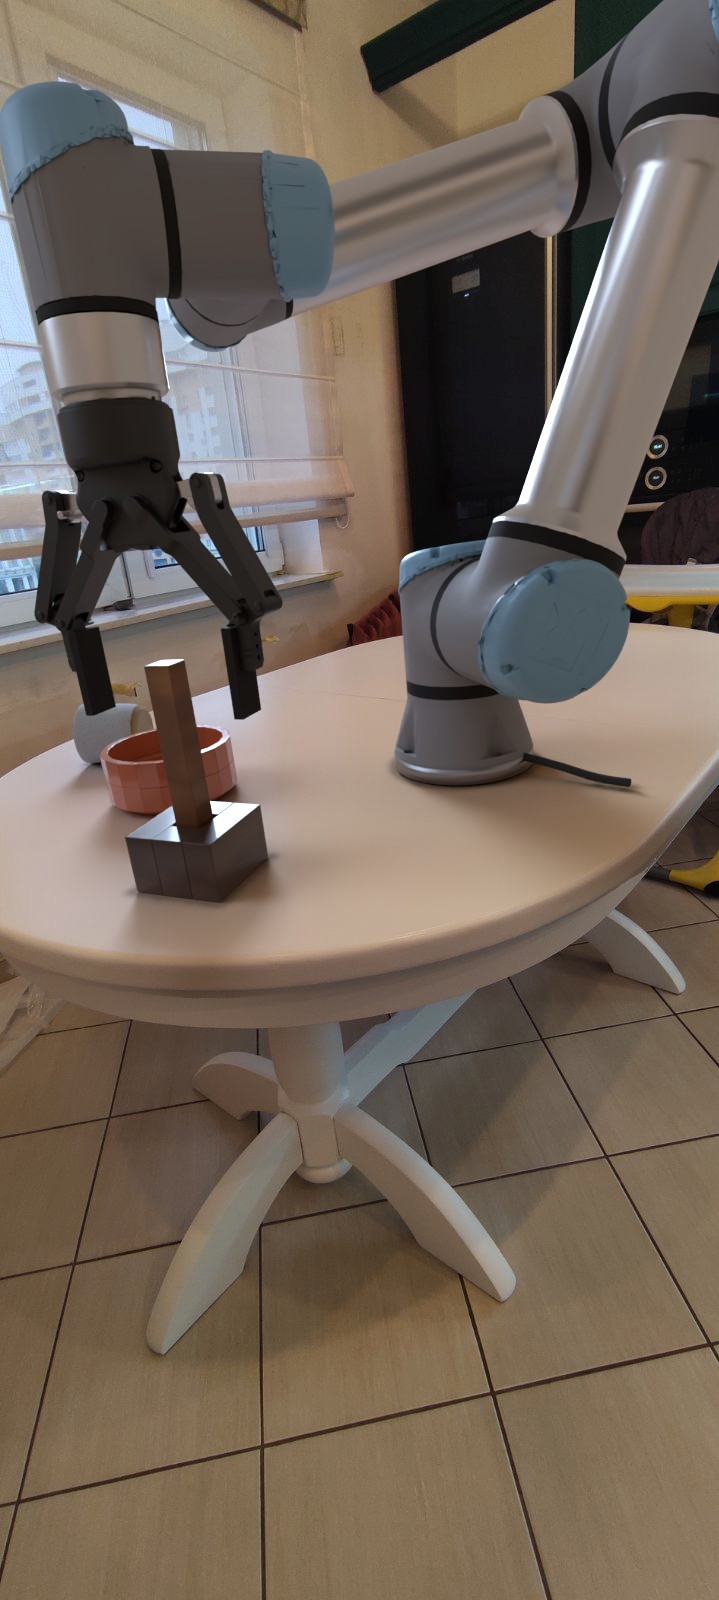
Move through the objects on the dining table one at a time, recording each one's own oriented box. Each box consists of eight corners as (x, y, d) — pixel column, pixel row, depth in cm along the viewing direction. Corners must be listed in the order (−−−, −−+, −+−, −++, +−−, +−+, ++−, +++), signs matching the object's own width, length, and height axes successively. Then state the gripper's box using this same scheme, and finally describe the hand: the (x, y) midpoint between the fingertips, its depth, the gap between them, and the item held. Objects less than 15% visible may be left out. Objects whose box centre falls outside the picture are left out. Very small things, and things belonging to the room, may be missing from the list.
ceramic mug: (142, 766, 90) (130, 706, 87) (79, 771, 91) (65, 711, 88) (168, 742, 100) (157, 687, 97) (110, 746, 101) (98, 692, 98)
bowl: (259, 775, 83) (252, 725, 81) (193, 823, 72) (182, 766, 70) (161, 770, 88) (152, 723, 86) (85, 814, 77) (72, 761, 75)
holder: (268, 856, 63) (260, 804, 61) (220, 902, 56) (209, 844, 55) (191, 849, 66) (181, 798, 64) (137, 892, 59) (124, 836, 57)
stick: (222, 869, 62) (184, 659, 55) (209, 881, 60) (167, 665, 53) (201, 866, 63) (161, 659, 56) (186, 878, 61) (143, 666, 54)
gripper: (307, 382, 47) (338, 702, 55) (16, 430, 56) (78, 698, 64) (250, 366, 40) (294, 731, 48) (-69, 423, 49) (12, 722, 57)
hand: (171, 713), depth 56 cm, fingers open, 13 cm apart
